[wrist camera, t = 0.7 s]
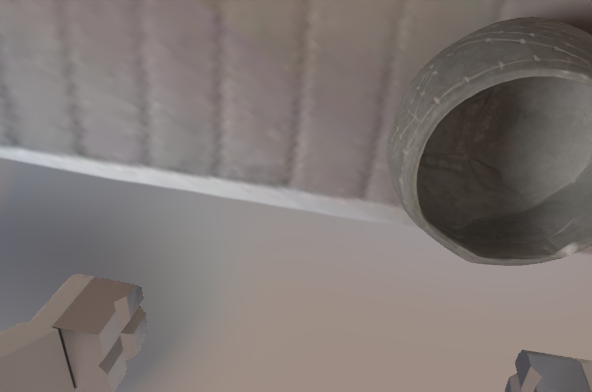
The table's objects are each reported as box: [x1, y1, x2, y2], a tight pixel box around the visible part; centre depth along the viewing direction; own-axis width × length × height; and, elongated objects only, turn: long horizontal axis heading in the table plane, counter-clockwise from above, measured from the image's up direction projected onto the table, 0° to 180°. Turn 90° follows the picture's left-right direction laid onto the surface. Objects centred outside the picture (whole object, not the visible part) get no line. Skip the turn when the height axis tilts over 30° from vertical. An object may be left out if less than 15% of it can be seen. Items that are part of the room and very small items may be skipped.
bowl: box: [387, 17, 592, 266], centre depth 46 cm, size 21×21×15 cm
